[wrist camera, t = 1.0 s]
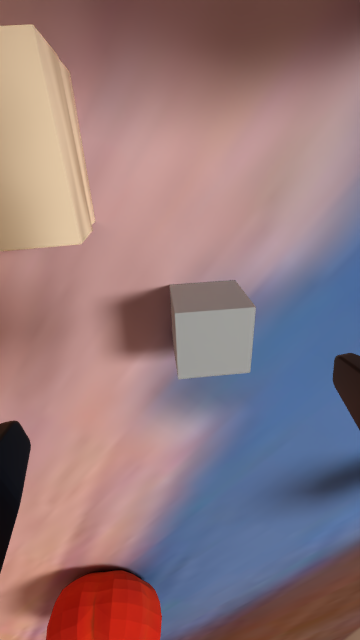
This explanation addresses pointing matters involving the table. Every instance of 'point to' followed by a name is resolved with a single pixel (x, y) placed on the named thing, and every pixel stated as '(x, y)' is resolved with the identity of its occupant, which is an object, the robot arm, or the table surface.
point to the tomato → (106, 609)
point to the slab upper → (37, 148)
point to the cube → (211, 328)
